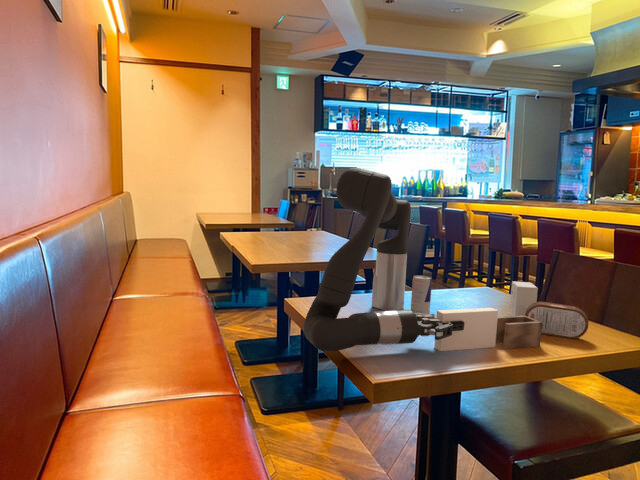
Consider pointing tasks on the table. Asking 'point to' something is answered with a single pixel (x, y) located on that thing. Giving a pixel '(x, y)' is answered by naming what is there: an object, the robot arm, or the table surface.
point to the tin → (559, 319)
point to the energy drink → (421, 294)
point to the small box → (522, 297)
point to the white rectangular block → (469, 329)
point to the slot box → (518, 331)
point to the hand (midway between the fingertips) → (459, 323)
